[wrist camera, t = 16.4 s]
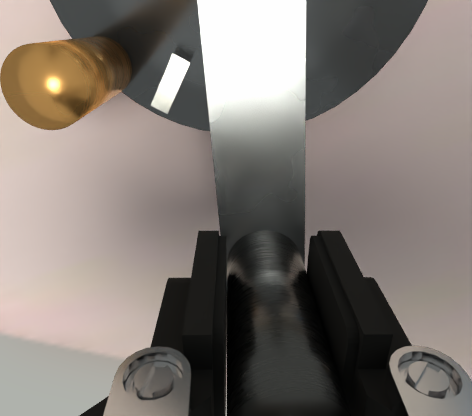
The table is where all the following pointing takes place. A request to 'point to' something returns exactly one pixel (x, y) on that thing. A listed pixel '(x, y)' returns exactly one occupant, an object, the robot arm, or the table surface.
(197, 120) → the crank base
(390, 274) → the table surface
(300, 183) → the crank
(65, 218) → the table surface
